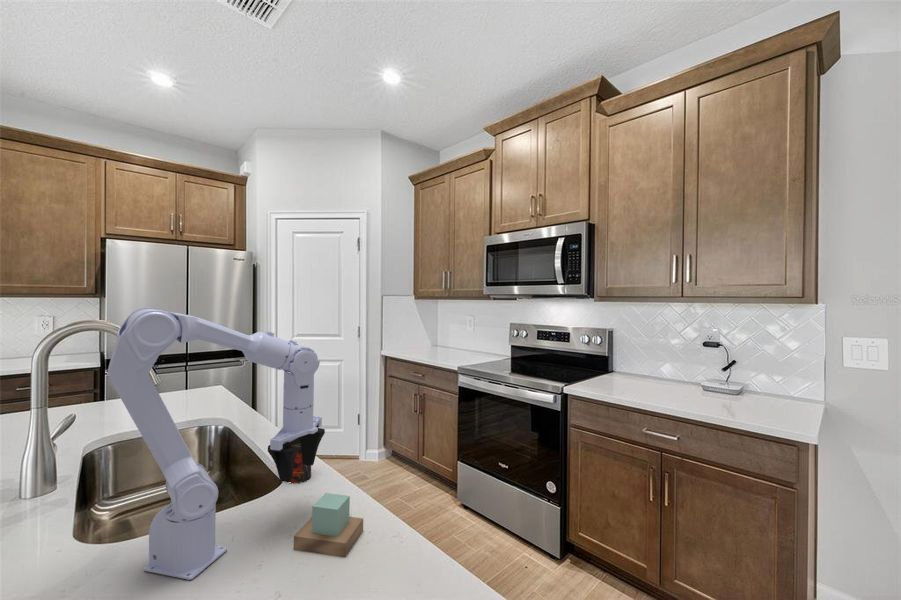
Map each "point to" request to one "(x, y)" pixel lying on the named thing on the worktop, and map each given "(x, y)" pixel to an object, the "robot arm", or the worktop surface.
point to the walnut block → (329, 539)
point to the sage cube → (330, 514)
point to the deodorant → (299, 465)
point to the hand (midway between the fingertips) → (297, 472)
